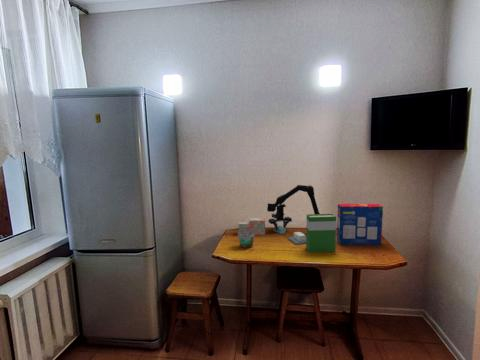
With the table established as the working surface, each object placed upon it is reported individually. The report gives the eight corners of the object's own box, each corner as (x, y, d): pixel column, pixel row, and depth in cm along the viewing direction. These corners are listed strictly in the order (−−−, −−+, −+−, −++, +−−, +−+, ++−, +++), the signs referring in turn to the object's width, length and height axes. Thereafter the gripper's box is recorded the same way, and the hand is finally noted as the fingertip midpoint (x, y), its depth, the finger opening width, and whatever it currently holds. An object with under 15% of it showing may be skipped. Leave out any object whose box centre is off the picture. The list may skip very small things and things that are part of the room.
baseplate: (302, 237, 209) (302, 235, 208) (310, 242, 197) (310, 240, 197) (288, 239, 205) (288, 237, 205) (296, 244, 194) (296, 242, 194)
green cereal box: (331, 247, 188) (332, 213, 185) (335, 251, 181) (336, 216, 177) (306, 247, 188) (306, 214, 185) (308, 252, 181) (309, 217, 178)
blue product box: (376, 241, 197) (378, 204, 193) (380, 245, 189) (382, 206, 185) (336, 240, 200) (337, 203, 196) (339, 244, 192) (340, 206, 188)
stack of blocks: (238, 235, 217) (238, 220, 215) (239, 232, 223) (238, 218, 222) (265, 235, 216) (265, 220, 214) (264, 232, 222) (264, 218, 221)
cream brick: (299, 236, 206) (299, 231, 205) (305, 240, 198) (305, 235, 198) (293, 237, 204) (293, 232, 203) (299, 241, 196) (299, 236, 196)
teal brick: (279, 230, 227) (279, 225, 227) (285, 232, 221) (285, 227, 220) (274, 231, 225) (274, 226, 224) (281, 233, 218) (281, 229, 217)
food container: (235, 248, 191) (234, 234, 189) (238, 244, 196) (238, 231, 195) (251, 250, 186) (251, 236, 185) (254, 246, 192) (254, 233, 191)
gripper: (285, 208, 231) (285, 226, 233) (265, 210, 225) (265, 228, 227) (292, 211, 220) (292, 230, 222) (271, 214, 215) (271, 232, 217)
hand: (280, 230), depth 222 cm, fingers open, 6 cm apart
